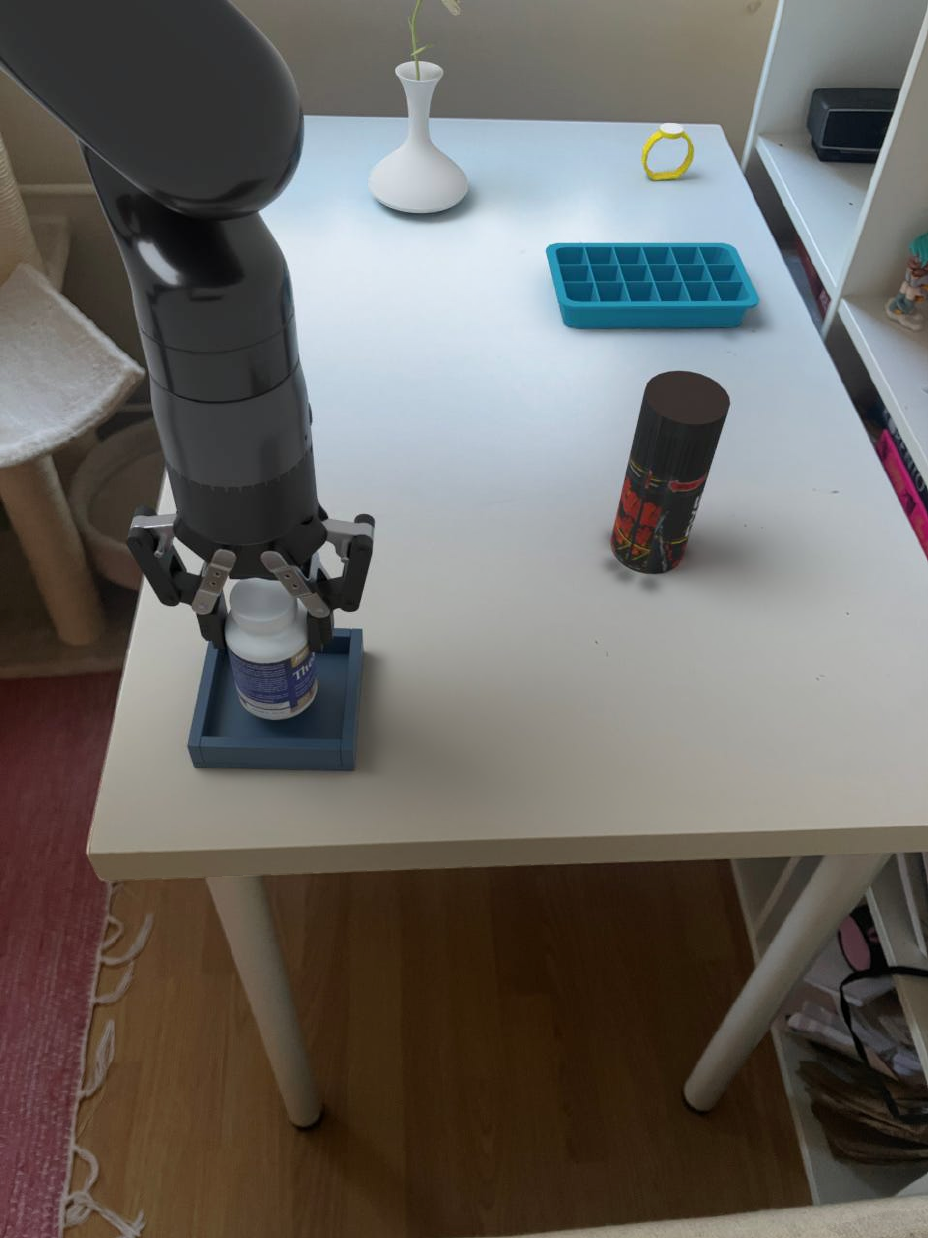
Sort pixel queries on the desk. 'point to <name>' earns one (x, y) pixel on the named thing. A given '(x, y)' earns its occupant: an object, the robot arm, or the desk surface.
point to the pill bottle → (270, 649)
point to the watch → (669, 133)
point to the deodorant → (668, 469)
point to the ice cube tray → (650, 284)
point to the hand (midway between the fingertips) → (270, 639)
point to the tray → (289, 743)
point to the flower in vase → (419, 146)
